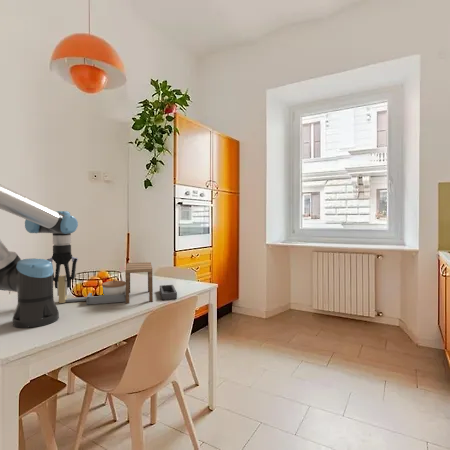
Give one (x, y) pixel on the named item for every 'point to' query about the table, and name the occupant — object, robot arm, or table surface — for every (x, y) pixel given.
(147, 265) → the tunnel
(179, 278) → the table surface
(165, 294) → the box
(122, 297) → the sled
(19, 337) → the table surface
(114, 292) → the lidded jar
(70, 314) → the table surface
